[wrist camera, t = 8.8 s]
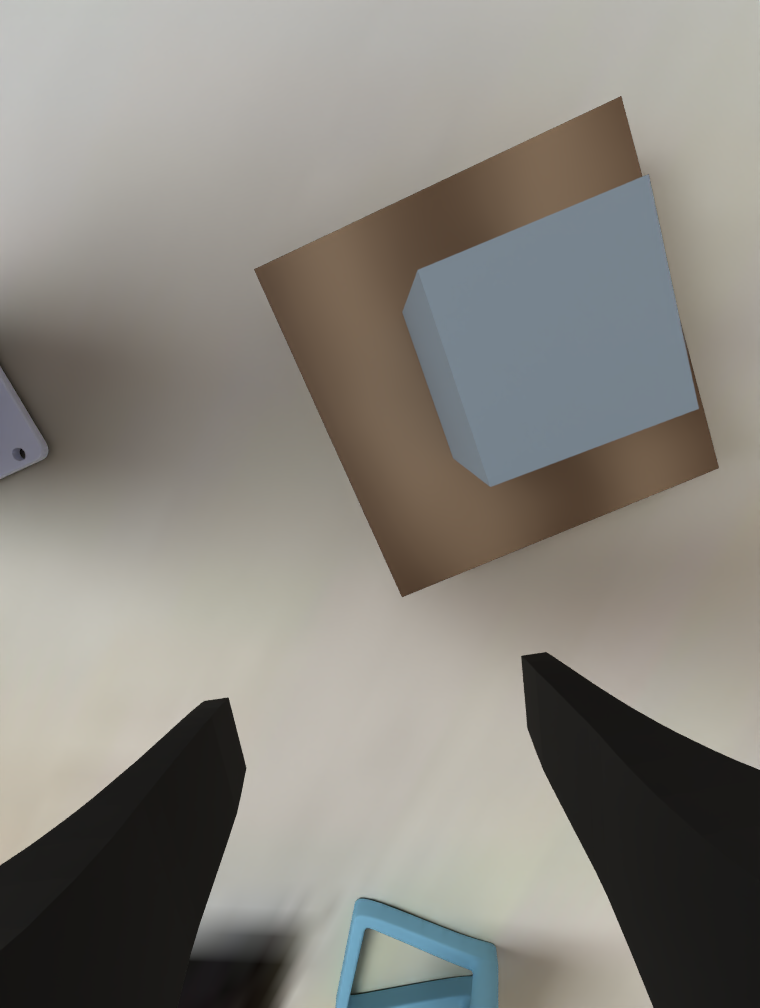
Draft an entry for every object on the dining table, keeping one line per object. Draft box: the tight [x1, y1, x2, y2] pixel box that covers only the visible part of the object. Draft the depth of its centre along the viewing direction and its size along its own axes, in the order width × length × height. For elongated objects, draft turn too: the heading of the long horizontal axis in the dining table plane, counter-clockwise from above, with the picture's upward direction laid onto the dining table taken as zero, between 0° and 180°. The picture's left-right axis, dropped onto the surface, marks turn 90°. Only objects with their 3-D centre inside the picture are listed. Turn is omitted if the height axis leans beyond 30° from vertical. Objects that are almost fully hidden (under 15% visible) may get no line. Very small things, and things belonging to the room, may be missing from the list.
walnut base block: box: [254, 96, 719, 597], centre depth 17 cm, size 12×12×4 cm
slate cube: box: [402, 174, 699, 487], centre depth 12 cm, size 5×5×5 cm
